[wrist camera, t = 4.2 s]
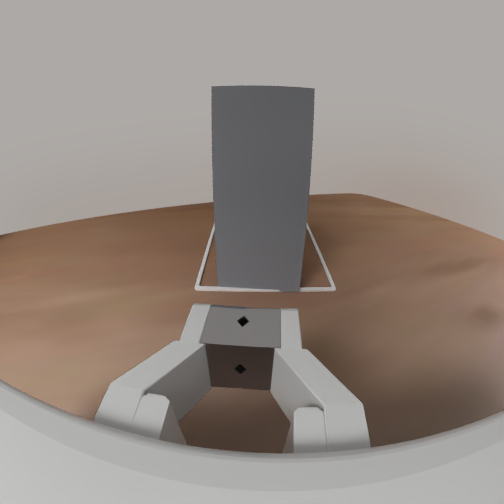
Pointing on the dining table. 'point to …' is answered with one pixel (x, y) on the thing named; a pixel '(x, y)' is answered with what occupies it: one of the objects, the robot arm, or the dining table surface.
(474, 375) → the dining table surface
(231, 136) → the tile
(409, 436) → the dining table surface
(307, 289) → the white wire frame
